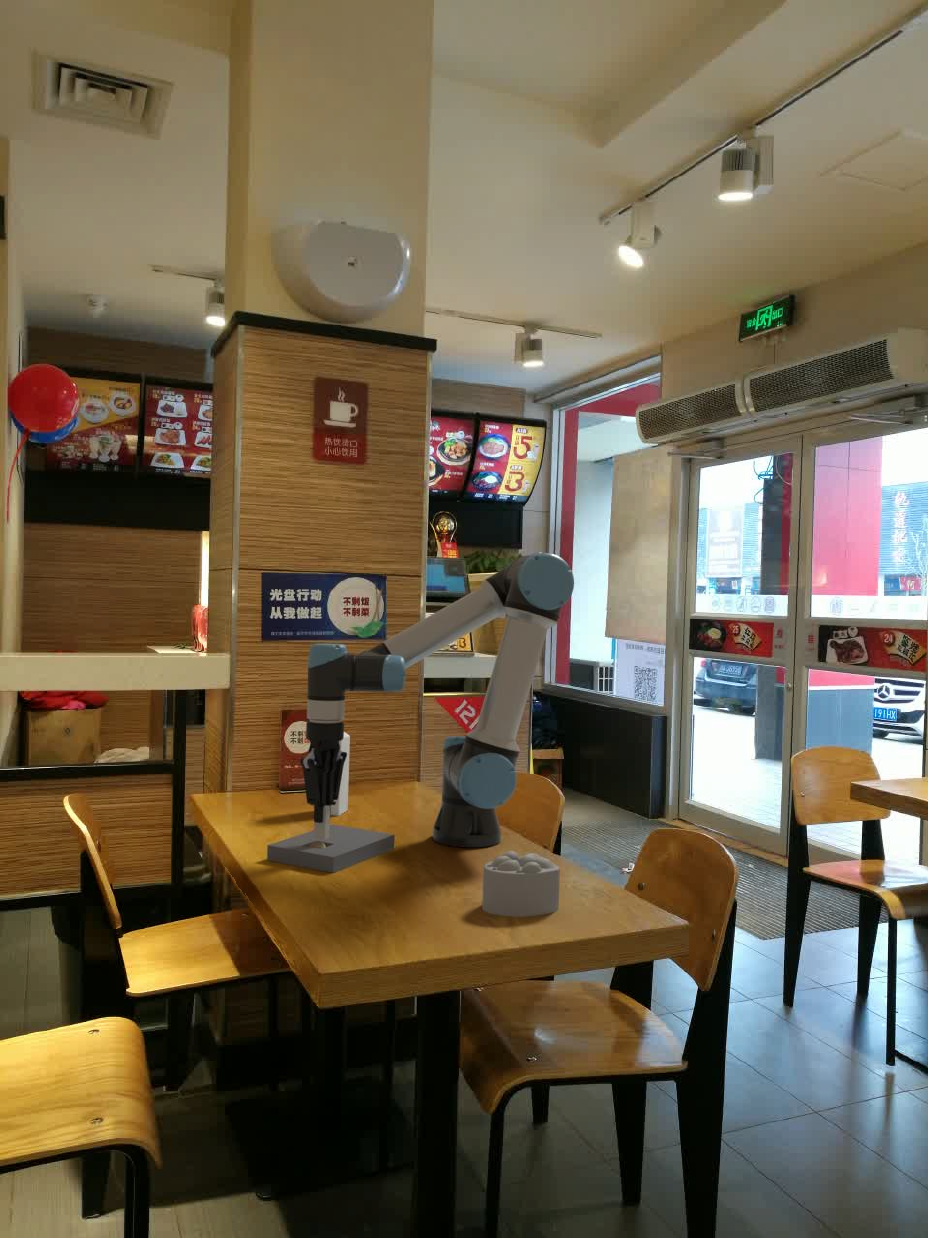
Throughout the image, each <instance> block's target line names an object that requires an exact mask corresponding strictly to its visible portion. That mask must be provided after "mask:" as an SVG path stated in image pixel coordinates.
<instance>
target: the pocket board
mask: <svg viewBox="0 0 928 1238" xmlns="http://www.w3.org/2000/svg"><path fill="white" fill-rule="evenodd" d="M395 839H396V838H395V834H393V833H388V832H379V831H376V830H375V831H374V830H370V829H369V830H368V829H362V828H357V827H351V826H346V825H345V826H343V825H337V824H330V831H329V838H328V839H320V838H314V829H313V830H310V831H308V832H304V833H301V834H298V835H295V836H292V837H289V838H286V839H283V840H280V841H277V842H273V843H270V844H269V843H268V844H267V847H266V849H267V850H266V860H267V861H269V862H274V863H278V864H279V863H280V864H285V865H290V866H294V867H295V866H296V867H300V868H306V869H311V870H316V871H322V872H326V873H331V874H334V873H336V872H339V871H343V870H344V869H347V868H350V867H352V866H354V865H356V864H357V865H358V864H359V863H361V862H365V861H367V860H370V859H371V858H374V856H375V857H377V856H379V855H382V854H385V853H387V852H389V851H392V850H394V849H395ZM314 841H321V842H323V843H324V844H325V846H326V847H325V848H322V849H319V848H314V847H309V846H310V844H311V843H312V842H314Z"/></svg>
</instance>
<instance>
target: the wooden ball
mask: <svg viewBox="0 0 928 1238" xmlns="http://www.w3.org/2000/svg"><path fill="white" fill-rule="evenodd" d="M309 847H314V848H319V849H322V848H325V847H326V846H325V844H324V843H323V842H321V841H314V842H312V843H311V844H310V846H309Z"/></svg>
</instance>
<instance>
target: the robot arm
mask: <svg viewBox="0 0 928 1238" xmlns="http://www.w3.org/2000/svg"><path fill="white" fill-rule="evenodd" d="M574 588H575V577H574V573H573V570H572V569H571V568H570V565H569V564H568V563H567V562H566V560H564V559H563V558H562V557H560V556H559V555H557V554H553V553H549V552H543V551H542V552H541V551H540V552H534V553H532V554H530V555H524V556H522V555H521V556H520V557H517V558H515V559H514V560H512V561H511V562H509V563H508V564H506V565H505V566H504V567H502V568H501V569H500V570H499V571H497V572H496V573H494V574H492V575H491V576H489V577H488V578H486V579H484V580H482V582H481V586H480V587H479V588H477V589H475V590H474V591H472V592H470V593H468V594H466V595H464V596H463V597H461V598H458V600H455V601H453V602H452V603H450V604H449V605H447V606H445V607H443V608H442V609H440V610H438V611H436V612H434V613H432V614H430V615H429V616H427V617H425V618H423V619H421V620H420V621H418V622H416V623H414V624H413V625H411V626H409V627H407V628H405V629H404V630H402V631H400V632H398V633H397V634H394V635H393V636H391V637H390V638H388V639H386V640H384V641H383V642H380V643H379V644H377V645H375V646H373V647H372V648H370V649H368V650H364V651H361V652H360V653H358V654H354V653H348V651H347V650H348V649H347V646H346V645H345V644H343V643H314V644H312V645H311V646H310V647H309V652H308V663H307V696H306V697H307V698H306V699H307V703H306V704H307V705H306V708H307V709H306V718H307V719H309V720H308V721H307V722H306V725H305V738H306V740H308V741H309V742H310V743H309V747H308V752H307V753H308V755H306V756H305V757H301V758H300V760H299V762H300V763H299V764H300V765H301V768H302V771H303V772H302V773H303V780H304V788H305V789H304V790H305V796H306V803H307V805H310V806H313V822H314V825H313V826H314V827H313V830H314V838H320V839H328V838H329V831H330V825H331V824H330V822H331V816H332V815H330V814H331V805H335V804H336V802H335V801H334V800H337V799H338V796H339V790H340V784H341V778H342V772H343V766H344V762H345V760H346V757H347V753H346V752H342V751H341V750H340V745H339V741H341V740H343V738H344V732H345V723H344V722H343V720H344V719H345V718H346V717H345V715H346V711H345V709H346V699H345V698H346V696H345V695H346V692H371V693H373V692H374V693H375V692H376V693H386V694H389V693H397V692H398V693H400V692H402V691H403V690H404V688H405V684H406V674H407V673H406V671H407V670H406V669H408V668H409V667H411V666H413V665H414V664H417V663H418V662H420V661H422V660H424V659H425V658H427V657H429V656H431V655H432V654H435V653H436V652H437V651H438V652H439V650H441V649H443V648H445V647H447V646H448V645H451V644H453V643H454V642H455V641H457V640H459V639H461V638H463V637H464V636H466V635H468V634H470V633H471V632H473V631H475V630H477V629H478V628H482V626H484V625H486V624H488V623H489V622H490V623H491V621H493V620H496V618H501V619H506V618H507V621H506V624H505V628H504V632H503V635H502V637H501V642H500V645H499V648H498V651H497V655H496V658H495V662H494V665H493V668H492V672H491V675H490V678H489V682H488V684H487V689H486V692H485V696H484V700H483V702H482V706H481V710H480V713H479V716H478V718H477V719H478V720H477V723H476V725H475V728H474V729H472V730H470V731H469V732H467V733H466V734H465V736H458V735H457V736H455V735H452V736H451V735H450V736H447V737H446V738H445V739H444V741H443V742H444V743H443V748H442V755H443V759H442V783H441V785H442V787H441V789H442V790H441V794H442V795H441V804H440V805H441V806H440V808H439V810H438V814H437V816H436V819H435V823H434V825H433V828H432V840H433V841H435V842H436V843H438V844H442V845H445V846H450V847H457V848H459V847H460V848H484V847H485V848H486V847H489V846H490V847H491V846H494V845H497V844H500V843H501V840H502V829H501V827H500V826H501V825H500V822H499V819H498V815H497V811H496V808H498V807H500V806H503V804H505V803H506V802H507V801H509V800H510V798H512V796H513V794H514V792H515V790H516V788H517V783H518V779H517V778H518V777H517V771H516V764H517V761H518V758H519V754H520V751H521V749H520V747H519V745H518V743H517V741H516V739H517V736H518V732H519V728H520V724H521V721H522V717H523V714H524V711H525V707H526V705H527V701H528V697H529V694H530V691H531V687H532V685H533V681H534V678H535V674H536V670H537V667H538V664H539V661H540V656H541V653H542V649H543V646H544V643H545V639H546V636H547V633H548V630H549V629H551V628H552V627H554V626H556V625H557V624H558V622H559V617H560V614H561V611H562V608H563V606H564V605H565V604H566V603H567V602H568V601H569V599H571V597H572V594H573V592H574ZM333 793H334V794H333Z"/></svg>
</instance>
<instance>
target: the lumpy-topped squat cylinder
mask: <svg viewBox="0 0 928 1238" xmlns="http://www.w3.org/2000/svg"><path fill="white" fill-rule="evenodd" d="M560 876H561V867H560V866H558V865H557V864H555V863H553V862H552V861H551V860H550V859H549V858H545V857H543V856H540V855H539V854H538V853H536V852H535V853H534V852H530V853H527V854H526V853H525V854H524V855H521V856H519V855H518V853H517V852H515V851H513V850H509V851H505V852H504V853H502V854H501V855H499V856H497V857H495V858H494V859H493V860H491V861H488V862H486V863H485V865H484V866H483V877H482V878H483V879H482V905H481V906H482V910H483V911H484V912H485V913H488V914H491V915H496V916H502V917H515V918H517V917H519V918H524V917H535V916H542V915H548V914H553V913H556V912H557V911H558V912H559V909H560V908H559V907H560V885H561V884H560V883H561V881H560V879H561V877H560Z"/></svg>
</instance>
